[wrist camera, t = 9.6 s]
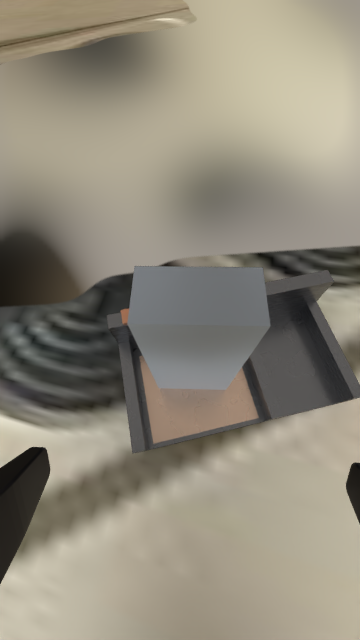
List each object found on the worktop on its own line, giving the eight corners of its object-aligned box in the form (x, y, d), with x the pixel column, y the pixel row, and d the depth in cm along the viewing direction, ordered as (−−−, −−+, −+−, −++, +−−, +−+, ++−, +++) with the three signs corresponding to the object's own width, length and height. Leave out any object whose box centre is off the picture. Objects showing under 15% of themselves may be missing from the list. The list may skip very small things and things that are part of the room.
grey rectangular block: (225, 389, 19) (270, 326, 9) (158, 388, 20) (127, 323, 9) (224, 355, 21) (262, 264, 10) (160, 354, 21) (135, 263, 10)
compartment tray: (347, 401, 20) (399, 386, 15) (138, 452, 18) (121, 454, 14) (300, 304, 23) (329, 267, 18) (123, 341, 22) (105, 313, 17)
